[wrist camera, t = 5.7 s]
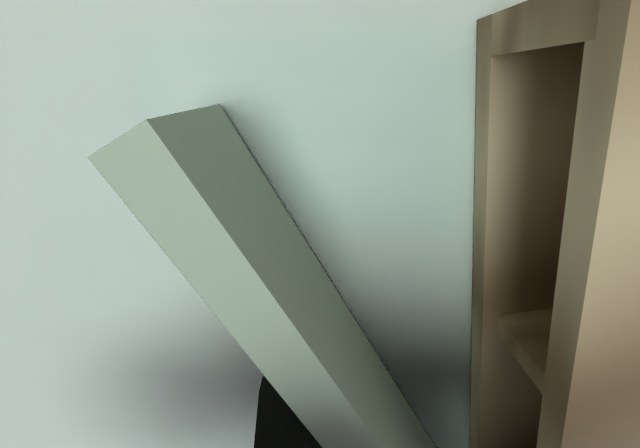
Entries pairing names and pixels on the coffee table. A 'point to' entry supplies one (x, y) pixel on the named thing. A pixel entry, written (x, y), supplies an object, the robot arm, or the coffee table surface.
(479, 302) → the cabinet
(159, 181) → the sage green panel
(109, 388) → the coffee table surface
